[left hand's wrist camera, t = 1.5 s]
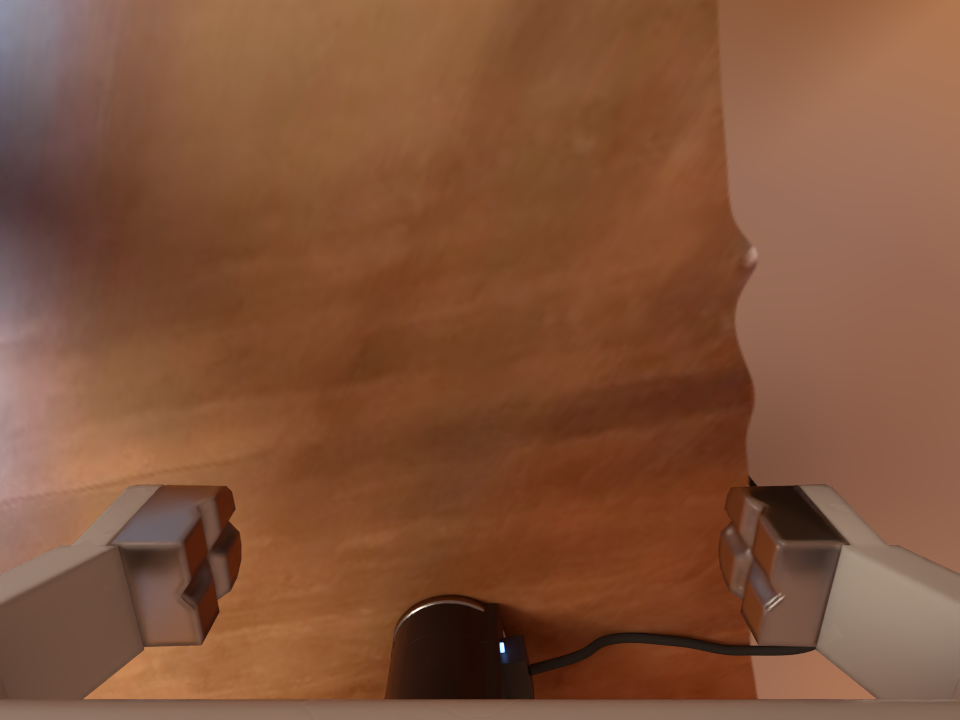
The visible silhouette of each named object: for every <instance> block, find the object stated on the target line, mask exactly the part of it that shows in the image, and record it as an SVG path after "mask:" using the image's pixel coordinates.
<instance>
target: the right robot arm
mask: <svg viewBox="0 0 960 720" xmlns="http://www.w3.org/2000/svg"><path fill="white" fill-rule="evenodd" d="M748 479H749V486H750V487H758V486H757V485H756V484H755V482H754V481H753V480H752V479H751V477H750V476H748ZM619 643H647V644H657V645H667V646H678V647H687V648H693V649H698V650H702V651H707V652H712V653H717V654H724V655H739V656H744V655H761V656H777V655H794V654H800V653H805V652H809V651H812V650H815V649H816V647H804V646H730V645H721V644H715V643H710V642H705V641H700V640H696V639H690V638H684V637H675V636H664V635H654V634H643V633H620V634H612V635H607V636H603V637H600V638H598V639H596V640H594V641H593V642H592V643H590V644H589V645H587V646H586V647H584V648H583V649H581V650H578V651H576V652H573V653H570V654H567V655H564V656H561V657H557V658H553V659H550V660H546V661H542V662H538V663H535V664H531V665H530V664H529V659H528V655H527V650H526V645H525V641H524V636H523V635H519V636H512V637H506V632H505V628H504V626H503V623H502V619H501V614H500V610H499V606H498V604H482V603H480V602H477V601H475V600H472V599H469V598H465V597H460V596H438V597H433V598H429V599H426V600H423V601H421V602H419V603H417V604H415V605H414V606H412V607H411V608H409V609H408V610H407V611H406V612H405V613H404V614H403V615H402V616H401V618H400V619H399V621H398V623H397V625H396V628H395V631H394V637H393V647H392V653H391V663H390V669H389V675H388V681H387V687H386V693H385V699H535V698H534V687H533V678H532V675H535V674H538V673H542V672H545V671H549V670H553V669H557V668H560V667H564V666H567V665H570V664H573V663H576V662H579V661H581V660H584V659H586V658H588V657H589V656H591V655H592V654H594V653H595V652H596V651H598V650H599V649H601V648H602V647H605V646H608V645H612V644H619Z"/></svg>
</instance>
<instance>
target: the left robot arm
mask: <svg viewBox="0 0 960 720" xmlns="http://www.w3.org/2000/svg"><path fill="white" fill-rule="evenodd" d="M234 511H235V504H234V499H233V494H232V491H231V490H230V489H229V488H228V487H227V486H197V485H134V486H130V487H128V488H127V489H126V490H125V491H124V492H123V493H122V494H121V495H120V496H119V497H118V498H117V499H116V500H115V501H114V502H113V503H112V504H111V505H110V506H109V507H108V508H107V510H106V511H105V512H104V513H103V514H102V515H101V516H100V517H99V518H98V519H97V520H96V521H95V522H94V523H93V524H92V525H91V526H90V527H89V528H88V529H87V530H86V531H85V532H84V533H83V534H82V535H81V536H80V537H79V539H78V540H77V541H76V542H75V543H74V544H73V545H70V546H59V547H57V548H55V549H53V550H51V551H49V552H47V553H44V554H42V555H40V556H38V557H36V558H34V559H31V560H29V561H27V562H25V563H23V564H21V565H19V566H16V567H14V568H12V569H10V570H8V571H6V572H3V573H1V574H0V720H960V574H959V573H956V572H954V571H952V570H950V569H948V568H946V567H944V566H941V565H939V564H937V563H935V562H933V561H931V560H928V559H926V558H924V557H922V556H920V555H918V554H916V553H913V552H911V551H909V550H907V549H905V548H903V547H901V546H890V545H887V544H886V543H885V542H884V541H883V540H882V538H881V537H880V536H879V535H878V534H877V533H876V532H875V531H874V530H873V529H872V528H871V527H870V526H869V525H868V524H867V523H866V522H865V521H864V520H863V519H862V518H861V517H860V516H859V515H858V514H857V513H856V511H854V509H853V508H852V507H851V506H850V505H849V504H848V503H847V502H846V501H845V500H844V499H843V498H842V497H841V496H840V495H839V494H838V493H837V492H836V491H835V490H834V489H833V488H832V487H830V486H827V485H825V484H817V485H793V486H758V487H731V488H730V490H729V492H728V495H727V498H726V503H725V511H726V512H727V514H728V516H729V517H730V519H731V522H730V523H729V524H728V525H727V526H726V527H725V528H724V529H723V530H722V531H721V533H720V540H719V548H718V552H719V563H720V569H721V572H722V576H723V579H724V581H725V583H726V585H727V587H728V589H729V591H730V592H732V593H733V594H735V595H736V596H738V597H739V598H741V599H742V600H743V601H742V607H741V614H742V616H743V617H744V619H745V621H746V623H747V625H748V627H749V629H750V630H751V632H752V634H753V636H754V638H755V640H756V642H757V643H758V645H768V646H804V647H816V650H817V651H818V652H820V653H821V654H822V655H823V656H825V657H826V658H827V659H828V660H830V661H831V662H832V663H833V664H835V665H836V666H837V667H838V668H839V669H841V670H842V671H843V672H844V673H846V674H847V675H848V676H849V677H851V678H852V679H853V680H854V681H856V682H857V683H858V684H859V685H860V686H862V687H863V688H864V689H865V690H867V691H868V692H869V693H870V694H872V695H873V696H874V697H875V698H877V699H84V698H85V697H86V696H87V695H89V694H90V693H91V692H92V691H94V690H95V689H96V688H97V687H98V686H100V685H101V684H102V683H103V682H105V681H106V680H107V679H108V678H110V677H111V676H112V675H113V674H115V673H116V672H117V671H118V670H120V669H121V668H122V667H123V666H125V665H126V664H127V663H128V662H130V661H131V660H132V659H133V658H135V657H136V656H137V655H138V654H139V653H141V652H142V651H143V650H144V647H156V646H190V645H202V644H203V642H204V640H205V638H206V636H207V634H208V632H209V630H210V629H211V627H212V625H213V623H214V621H215V619H216V617H217V616H218V614H219V607H218V601H217V600H218V599H219V598H221V597H222V596H224V595H225V594H227V593H228V592H230V591H231V589H232V587H233V585H234V583H235V581H236V579H237V576H238V572H239V567H240V563H241V539H240V533H239V531H238V530H237V529H236V528H235V527H234V526H233V525H232V524H231V523H230V522H229V519H230V517H231V516H232V514H233V512H234Z"/></svg>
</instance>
